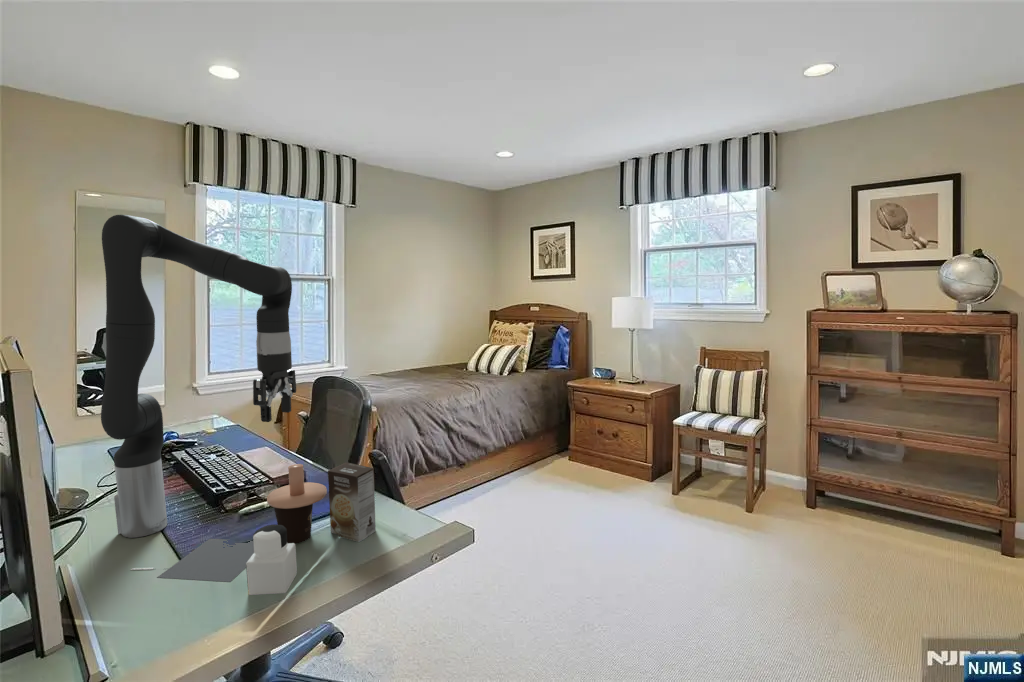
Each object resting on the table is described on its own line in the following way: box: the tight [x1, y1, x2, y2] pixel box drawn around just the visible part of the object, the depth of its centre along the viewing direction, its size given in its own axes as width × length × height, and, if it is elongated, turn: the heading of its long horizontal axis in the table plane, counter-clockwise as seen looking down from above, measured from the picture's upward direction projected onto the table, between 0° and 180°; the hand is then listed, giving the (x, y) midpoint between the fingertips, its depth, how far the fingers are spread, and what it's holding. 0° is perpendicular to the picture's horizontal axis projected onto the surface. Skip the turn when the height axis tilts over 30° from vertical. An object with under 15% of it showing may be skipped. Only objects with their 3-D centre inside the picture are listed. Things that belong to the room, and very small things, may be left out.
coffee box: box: [327, 461, 377, 543], centre depth 126 cm, size 9×6×16 cm
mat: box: [156, 538, 254, 583], centre depth 115 cm, size 16×16×1 cm
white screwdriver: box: [130, 567, 155, 571], centre depth 111 cm, size 1×19×1 cm, turn 91°
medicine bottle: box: [245, 524, 298, 596], centre depth 105 cm, size 7×7×12 cm
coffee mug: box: [273, 503, 314, 545], centre depth 125 cm, size 12×9×10 cm
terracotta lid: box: [266, 463, 328, 509], centre depth 124 cm, size 13×13×7 cm
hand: (276, 416), depth 128 cm, fingers open, 8 cm apart
